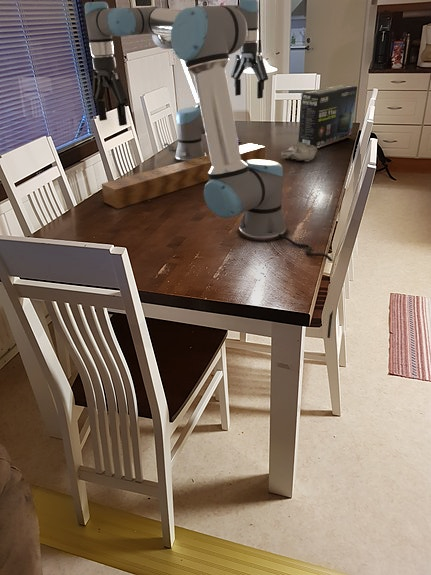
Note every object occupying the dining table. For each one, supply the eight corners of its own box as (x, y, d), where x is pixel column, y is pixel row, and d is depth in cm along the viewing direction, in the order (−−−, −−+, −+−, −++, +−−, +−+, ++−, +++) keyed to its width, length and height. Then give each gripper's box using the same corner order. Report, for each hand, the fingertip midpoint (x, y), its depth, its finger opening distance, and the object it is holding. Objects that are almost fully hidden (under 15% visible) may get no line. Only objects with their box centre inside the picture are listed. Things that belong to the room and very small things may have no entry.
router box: (314, 151, 231) (318, 94, 217) (296, 148, 237) (299, 92, 224) (352, 138, 251) (358, 85, 238) (335, 135, 258) (340, 83, 245)
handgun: (220, 136, 265) (220, 133, 264) (233, 135, 266) (233, 132, 265) (227, 145, 248) (227, 141, 247) (241, 143, 249) (241, 140, 248)
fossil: (311, 156, 210) (288, 135, 213) (297, 175, 216) (275, 154, 219) (325, 153, 223) (304, 133, 226) (312, 171, 230) (290, 152, 233)
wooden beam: (117, 208, 172) (115, 189, 168) (104, 202, 179) (101, 183, 175) (264, 162, 218) (265, 146, 214) (249, 158, 224) (249, 143, 220)
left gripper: (277, 42, 185) (275, 98, 196) (234, 41, 201) (235, 93, 212) (264, 43, 181) (263, 100, 192) (222, 42, 197) (223, 95, 208)
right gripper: (133, 56, 147) (141, 125, 158) (94, 54, 163) (104, 116, 174) (113, 58, 143) (122, 129, 153) (75, 55, 159) (86, 119, 170)
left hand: (248, 96), depth 202 cm, fingers open, 13 cm apart
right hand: (112, 122), depth 164 cm, fingers open, 13 cm apart
